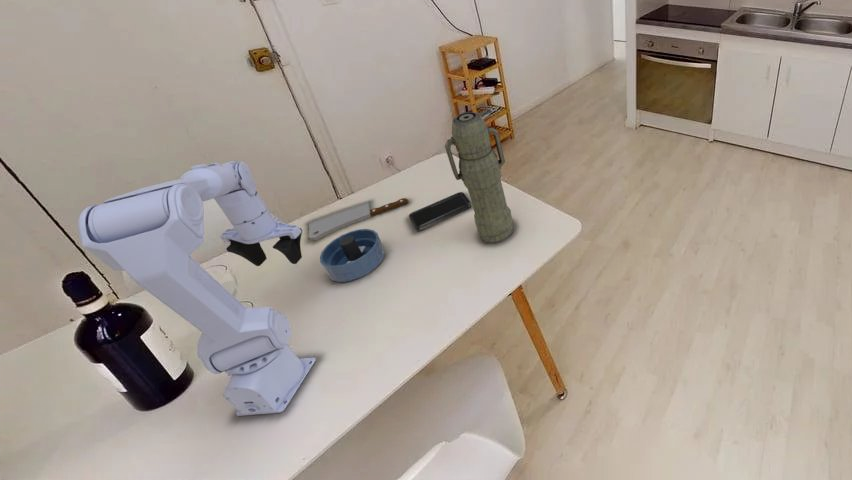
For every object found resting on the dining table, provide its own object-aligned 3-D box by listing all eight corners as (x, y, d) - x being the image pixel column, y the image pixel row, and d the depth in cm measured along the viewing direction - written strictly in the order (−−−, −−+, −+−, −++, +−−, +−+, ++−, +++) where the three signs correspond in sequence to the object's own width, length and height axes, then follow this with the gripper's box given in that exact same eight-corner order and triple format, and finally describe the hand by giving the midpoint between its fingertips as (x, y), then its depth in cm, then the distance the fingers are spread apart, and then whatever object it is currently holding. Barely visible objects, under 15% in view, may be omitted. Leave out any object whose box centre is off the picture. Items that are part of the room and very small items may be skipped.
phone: (471, 203, 116) (415, 229, 108) (472, 206, 117) (416, 232, 109) (461, 190, 122) (407, 214, 113) (462, 193, 122) (409, 217, 114)
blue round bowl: (370, 281, 95) (362, 265, 92) (317, 285, 95) (307, 268, 92) (394, 243, 106) (387, 227, 103) (347, 246, 105) (338, 230, 102)
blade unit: (358, 271, 97) (347, 250, 94) (341, 272, 97) (329, 251, 94) (372, 250, 103) (362, 230, 99) (356, 251, 103) (345, 231, 99)
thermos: (525, 229, 109) (499, 115, 91) (481, 252, 102) (445, 133, 85) (511, 212, 115) (484, 102, 97) (469, 232, 108) (433, 118, 91)
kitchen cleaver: (404, 187, 124) (408, 204, 117) (405, 190, 125) (409, 206, 117) (308, 220, 113) (305, 240, 106) (309, 223, 114) (307, 243, 106)
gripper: (298, 199, 86) (324, 245, 93) (228, 203, 86) (259, 249, 92) (274, 223, 80) (304, 270, 87) (198, 227, 79) (234, 274, 86)
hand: (279, 261), depth 89 cm, fingers open, 7 cm apart
